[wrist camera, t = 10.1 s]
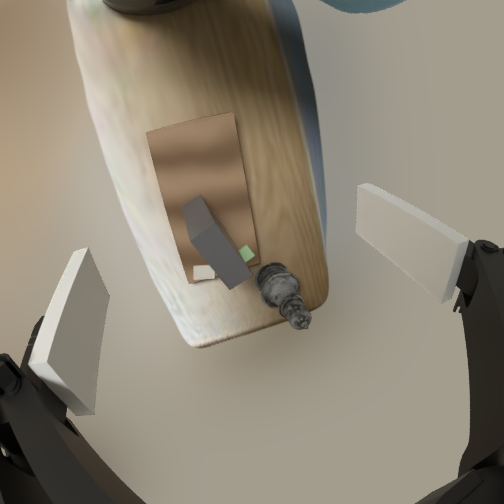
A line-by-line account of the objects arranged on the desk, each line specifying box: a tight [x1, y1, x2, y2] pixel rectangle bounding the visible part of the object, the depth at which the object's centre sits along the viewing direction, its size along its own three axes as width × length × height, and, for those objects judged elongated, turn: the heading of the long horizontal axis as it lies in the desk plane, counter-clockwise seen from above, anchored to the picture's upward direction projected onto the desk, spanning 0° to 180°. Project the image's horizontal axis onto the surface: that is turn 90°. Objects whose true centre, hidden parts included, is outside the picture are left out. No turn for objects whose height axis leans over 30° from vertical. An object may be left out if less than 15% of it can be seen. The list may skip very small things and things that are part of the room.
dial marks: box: [193, 245, 255, 280], centre depth 38 cm, size 3×9×1 cm, turn 106°
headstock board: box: [146, 112, 260, 284], centre depth 34 cm, size 20×10×2 cm, turn 10°
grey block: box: [182, 194, 253, 290], centre depth 31 cm, size 10×3×10 cm, turn 31°
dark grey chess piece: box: [255, 262, 312, 330], centre depth 38 cm, size 6×6×12 cm
